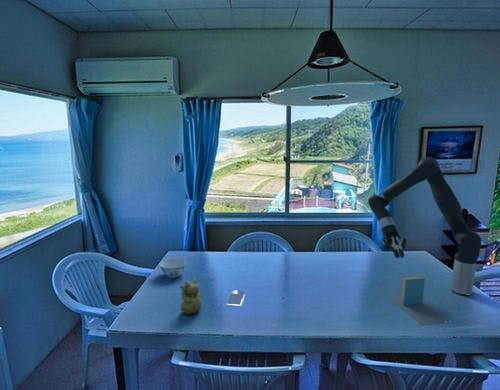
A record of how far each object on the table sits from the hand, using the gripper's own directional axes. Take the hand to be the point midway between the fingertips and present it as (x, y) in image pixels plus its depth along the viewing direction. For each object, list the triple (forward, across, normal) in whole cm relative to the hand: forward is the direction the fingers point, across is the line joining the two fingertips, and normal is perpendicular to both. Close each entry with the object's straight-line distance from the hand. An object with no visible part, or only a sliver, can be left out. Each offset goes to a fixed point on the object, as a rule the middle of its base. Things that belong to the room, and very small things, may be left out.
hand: (400, 257), depth 156 cm
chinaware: (-15, -115, +43) cm, 124 cm away
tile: (+21, 0, +6) cm, 22 cm away
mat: (+26, 0, +2) cm, 26 cm away
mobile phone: (+8, -82, +21) cm, 85 cm away
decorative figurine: (+15, -104, +14) cm, 106 cm away
